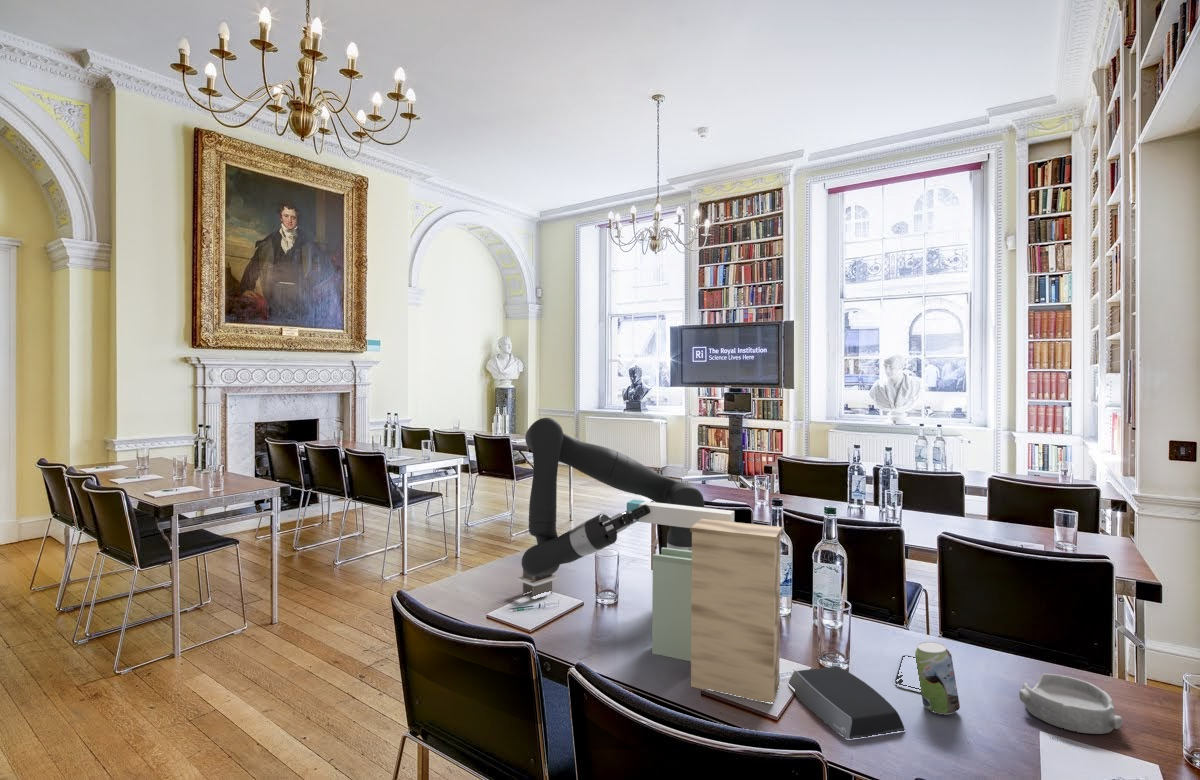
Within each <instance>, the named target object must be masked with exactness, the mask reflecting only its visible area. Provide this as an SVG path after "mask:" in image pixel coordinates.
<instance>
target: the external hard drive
mask: <svg viewBox="0 0 1200 780" xmlns="http://www.w3.org/2000/svg"><path fill="white" fill-rule="evenodd" d="M788 683H789V684H790V685H791V686H792V687H793V688H794V689H795V693H794V695H795V696H796V697H797V698H798V699H799V700H800V701H801V702H802V703H803V704H804V705H805V706H806V707H807V708H808V710H810V709H811V710H812V711H813V712H814V713H815V714H816V716H817V717H818V718H819V717H820V718H821V719H822V720H823V721H824V722H823V721H822V720H821V719H820V718H819V719H820V720H821V721H822V722H823V723H825V722H826V723H827V724H828V725H829V726H830V727H831V728H830V727H829V726H828V725H827V724H826V723H825V724H826V725H827V726H828V727H829V728H830V729H832V728H833V729H834V730H835V731H837V732H838V733H840V734H841V735H843V736H844V737H845V738H847V739H853V738H861V737H868V736H872V735H878V734H886V733H891V732H897V731H904V730H905V726H904V723H903V721H902V719H901V716H900V714H899V713H898V711H897V710H896V709H895V708H894V707H893V706H892V704H891V703H889V702H888V701H887V700H886V698H884V697H883V696H882V695H881V694H880V693H879V692H877V691H876V690H875V689H874V688H873V687H872V686H870V685H869V684H868V683H866V682H865V681H863V680H861V679H860V678H859V677H857V676H856V675H854V674H852V673H851V672H849V671H847V670H845V669H844V668H842V667H840V666H838V665H835V666H829V667H828V666H827V667H820V668H812V669H811V668H810V669H803V670H794V672H793V673H792V674H791V676H790V679H789V680H788ZM811 710H810V711H811ZM812 711H811V712H812ZM813 712H812V713H813ZM814 713H813V714H814ZM815 714H814V715H815ZM833 729H832V730H833ZM834 730H833V731H834ZM835 731H834V732H835ZM905 731H906V730H905ZM837 732H836V733H837ZM838 733H837V734H838ZM841 735H840V736H841ZM845 738H844V739H845Z"/></svg>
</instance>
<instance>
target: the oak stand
mask: <svg viewBox="0 0 1200 780" xmlns="http://www.w3.org/2000/svg"><path fill="white" fill-rule="evenodd" d="M690 532H692V604H691V661H690V687H692V688H695V689H699V690H700V689H701V690H704V689H711V690H714V691H719V692H723V693H728V694H732V695H736V696H741V697H744V698H749V699H753V700H757V701H764V702H770V703H771V702H774V703H775V701H774V699H775V700H776V698H775V696H776V697H777V694H778V691H779V688H778V686H779V687H780V656H781V655H780V654H781V653H780V651H781V649H780V648H781V647H780V645H781V643H780V642H781V641H780V639H781V635H780V634H781V633H780V630H781V629H780V628H781V623H780V621H781V541H782V540H781V539H782V538H781V537H782V535H781V534H782V532H783V526H775V525H764V524H757V523H745V522H736V521H734V522H728V521H718V520H708V519H701V520H699V521H698V522H697V523H695V524H694V525H693V526H692V527H690ZM777 690H778V691H777ZM776 693H777V694H776ZM744 698H743V699H744ZM753 700H752V701H753ZM757 701H756V702H757Z"/></svg>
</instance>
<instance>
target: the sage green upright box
mask: <svg viewBox="0 0 1200 780" xmlns="http://www.w3.org/2000/svg"><path fill="white" fill-rule="evenodd" d="M660 550H661V551H660V552H661V553H660V554H657V553H653V554H652V604H651V605H652V606H651V607H652V608H651V609H652V615H651V616H652V619H651V622H652V625H651V626H652V629H651V630H652V634H651V639H652V640H651V651H652V652H651V654H652V655H658V656H664V657H668V658H673V659H677V660H681V661H683V660H684V661H687V662H691V604H692V551H688V550H680V549H672V548H667V547H664V546H663V547H661V549H660Z"/></svg>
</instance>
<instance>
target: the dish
mask: <svg viewBox="0 0 1200 780" xmlns="http://www.w3.org/2000/svg"><path fill="white" fill-rule="evenodd" d="M1018 695H1019V696H1018V697H1019V700H1020V701H1021V702H1022V703H1023V704H1024V706H1025V709H1026V710H1027V711H1028V712H1029V713H1030V714H1031V715H1032V716H1034V717H1036V719H1039V720H1040V721H1043V722H1045V723H1047V724H1049V725H1051V726H1055V727H1058V728H1061V729H1063V728H1064V729H1063V730H1066V731H1067V730H1068V731H1071V732H1072V731H1073V732H1075V731H1076V733H1082V734H1090V735H1091V734H1092V735H1093V734H1094V735H1095V734H1096V735H1104V734H1108V733H1110V732H1112V731H1113V730H1114V729H1115V730H1116V729H1119V728H1121V727H1122V726H1123V717H1122V716H1120V715H1117V714H1116V710H1115V705H1114V702H1113V699H1112V698H1111V696H1110V694H1109V693H1108V692H1107V691H1105V690H1102V689H1101V688H1100V687H1098V686H1097V685H1095V684H1093V683H1091V682H1088V681H1086V680H1083V679H1079V678H1076V677H1071V676H1067V675H1061V674H1056V673H1055V674H1054V673H1042V675H1041V676H1040V677H1039V678H1038V681H1037V683H1036V684H1035V685H1034V686H1033V687H1032V688H1031V687H1030V686H1029V684H1028V682H1023V684H1022V688H1021V689H1019V691H1018Z"/></svg>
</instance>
